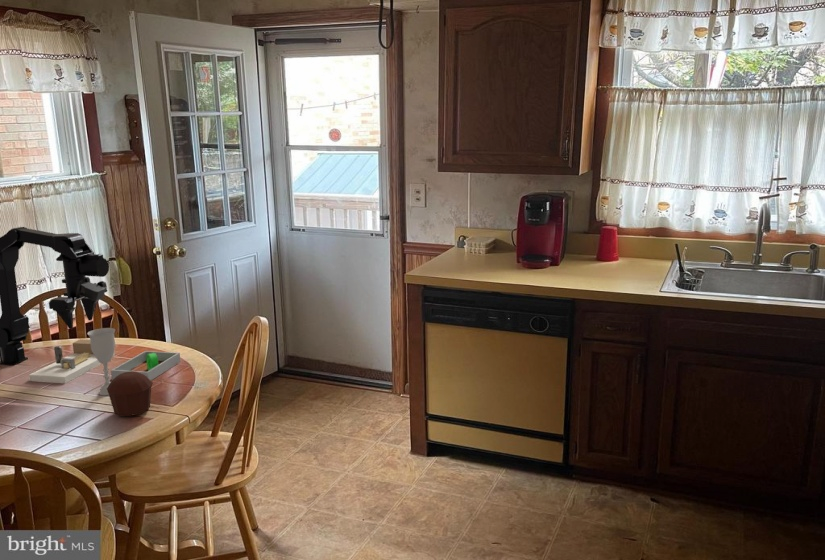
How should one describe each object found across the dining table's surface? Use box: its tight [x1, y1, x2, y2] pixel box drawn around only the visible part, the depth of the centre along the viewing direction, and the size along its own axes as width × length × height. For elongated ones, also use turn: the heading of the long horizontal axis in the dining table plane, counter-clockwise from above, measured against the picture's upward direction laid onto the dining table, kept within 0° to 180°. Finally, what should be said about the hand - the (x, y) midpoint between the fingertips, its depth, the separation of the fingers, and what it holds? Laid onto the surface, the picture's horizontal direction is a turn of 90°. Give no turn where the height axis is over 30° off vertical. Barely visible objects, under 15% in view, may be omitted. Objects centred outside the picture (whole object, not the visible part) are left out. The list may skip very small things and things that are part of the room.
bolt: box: [53, 345, 90, 368], centre depth 211 cm, size 6×10×6 cm, turn 169°
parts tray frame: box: [110, 350, 181, 381], centre depth 210 cm, size 12×18×3 cm
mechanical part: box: [146, 353, 160, 371], centre depth 213 cm, size 12×6×8 cm, turn 38°
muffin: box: [107, 370, 153, 417], centre depth 180 cm, size 12×11×10 cm
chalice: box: [87, 327, 116, 396], centre depth 191 cm, size 7×7×18 cm
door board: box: [28, 338, 116, 384], centre depth 212 cm, size 12×24×6 cm, turn 169°
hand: (80, 324), depth 210 cm, fingers open, 9 cm apart
